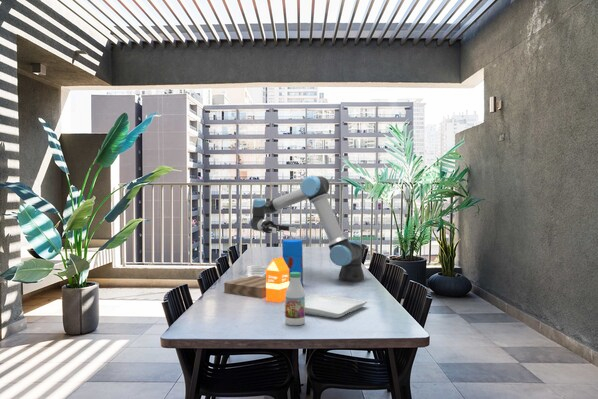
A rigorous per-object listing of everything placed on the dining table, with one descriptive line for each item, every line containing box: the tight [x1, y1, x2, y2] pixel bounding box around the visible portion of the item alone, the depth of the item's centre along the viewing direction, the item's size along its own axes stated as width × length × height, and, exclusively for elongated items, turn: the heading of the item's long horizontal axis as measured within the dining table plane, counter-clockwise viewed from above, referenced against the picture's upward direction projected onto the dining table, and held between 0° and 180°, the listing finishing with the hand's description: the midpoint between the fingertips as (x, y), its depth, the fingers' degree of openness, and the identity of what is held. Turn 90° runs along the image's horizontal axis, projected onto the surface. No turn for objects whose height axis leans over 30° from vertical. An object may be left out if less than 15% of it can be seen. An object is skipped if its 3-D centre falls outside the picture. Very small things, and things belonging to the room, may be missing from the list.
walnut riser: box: [223, 276, 266, 299], centre depth 245 cm, size 24×24×5 cm
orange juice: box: [265, 256, 289, 303], centre depth 226 cm, size 8×9×20 cm
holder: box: [245, 264, 269, 278], centre depth 293 cm, size 45×18×3 cm, turn 171°
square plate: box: [305, 293, 368, 319], centre depth 207 cm, size 27×27×4 cm
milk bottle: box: [284, 272, 306, 326], centre depth 186 cm, size 8×8×20 cm
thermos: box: [281, 238, 304, 287], centre depth 257 cm, size 11×11×25 cm
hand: (286, 230), depth 264 cm, fingers open, 13 cm apart
